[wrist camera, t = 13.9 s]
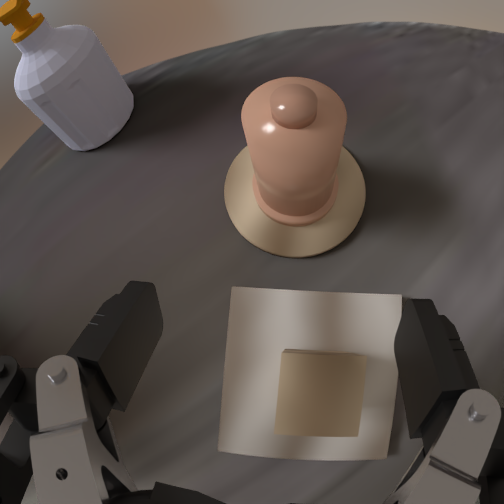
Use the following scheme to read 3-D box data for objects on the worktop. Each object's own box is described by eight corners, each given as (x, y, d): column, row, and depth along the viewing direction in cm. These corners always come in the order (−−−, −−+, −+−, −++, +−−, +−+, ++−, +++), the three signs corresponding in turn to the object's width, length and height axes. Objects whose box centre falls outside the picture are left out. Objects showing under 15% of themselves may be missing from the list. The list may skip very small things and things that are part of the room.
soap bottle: (76, 100, 32) (-32, -38, 9) (141, 79, 31) (44, -94, 8) (59, 161, 30) (-90, 18, 6) (129, 141, 29) (-17, -58, 5)
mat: (218, 254, 25) (216, 252, 24) (233, 132, 27) (232, 129, 27) (365, 261, 23) (367, 259, 22) (360, 136, 26) (361, 133, 25)
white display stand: (220, 446, 21) (187, 490, 13) (234, 288, 24) (205, 262, 16) (382, 454, 19) (418, 498, 11) (397, 296, 22) (443, 274, 14)
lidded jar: (250, 224, 24) (222, 150, 15) (257, 151, 26) (237, 61, 16) (337, 228, 23) (362, 154, 14) (336, 154, 25) (350, 63, 15)
